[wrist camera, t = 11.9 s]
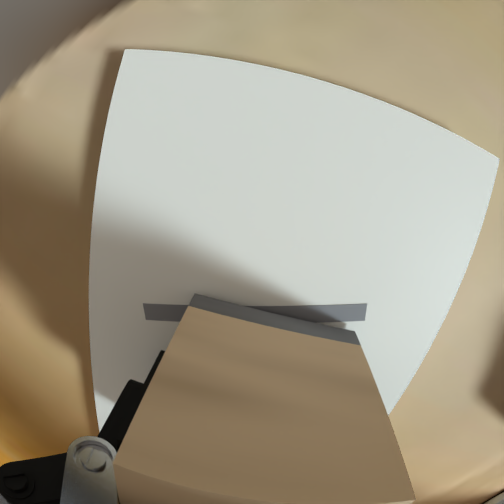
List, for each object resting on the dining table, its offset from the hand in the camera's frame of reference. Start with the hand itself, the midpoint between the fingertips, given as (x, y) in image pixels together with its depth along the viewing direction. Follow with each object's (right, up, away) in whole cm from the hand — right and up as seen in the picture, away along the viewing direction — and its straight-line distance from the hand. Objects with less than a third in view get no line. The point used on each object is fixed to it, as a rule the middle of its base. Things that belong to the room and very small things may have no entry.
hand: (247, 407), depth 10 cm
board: (0, 0, +2) cm, 2 cm away
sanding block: (0, 0, 0) cm, 1 cm away
